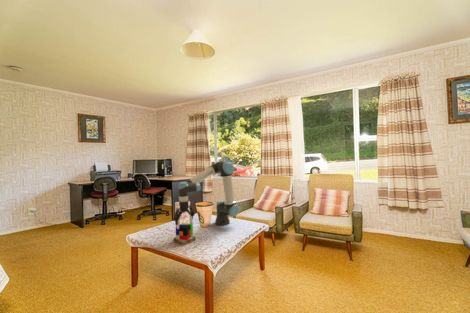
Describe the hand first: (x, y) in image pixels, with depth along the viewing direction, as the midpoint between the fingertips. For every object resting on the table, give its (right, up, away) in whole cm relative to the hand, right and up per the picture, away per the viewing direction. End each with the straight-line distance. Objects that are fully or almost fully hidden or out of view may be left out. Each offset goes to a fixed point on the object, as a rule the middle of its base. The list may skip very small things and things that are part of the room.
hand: (184, 226), depth 180 cm
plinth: (0, -12, 0) cm, 12 cm away
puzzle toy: (0, -9, 0) cm, 9 cm away
